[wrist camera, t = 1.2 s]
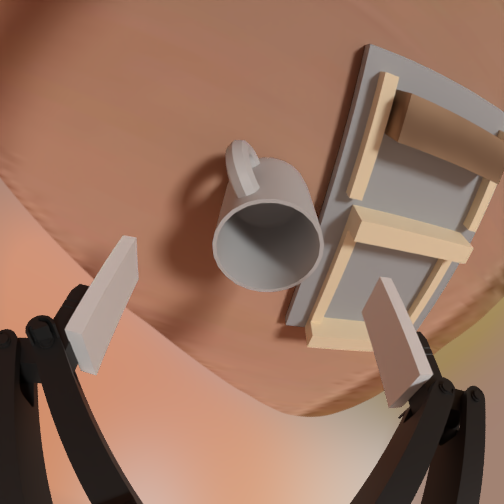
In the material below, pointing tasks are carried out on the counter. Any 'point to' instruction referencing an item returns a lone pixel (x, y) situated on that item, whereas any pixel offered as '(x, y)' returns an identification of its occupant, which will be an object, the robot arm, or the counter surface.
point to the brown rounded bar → (445, 135)
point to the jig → (391, 207)
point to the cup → (266, 223)
